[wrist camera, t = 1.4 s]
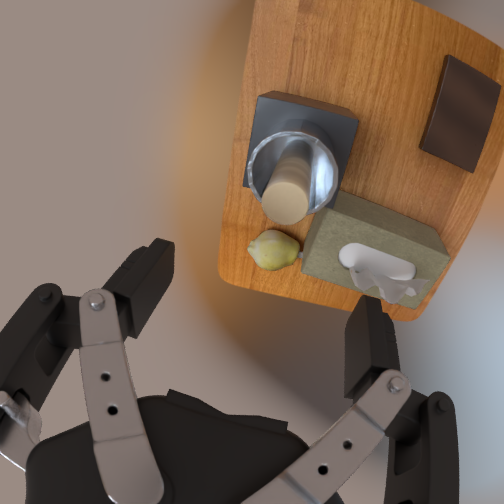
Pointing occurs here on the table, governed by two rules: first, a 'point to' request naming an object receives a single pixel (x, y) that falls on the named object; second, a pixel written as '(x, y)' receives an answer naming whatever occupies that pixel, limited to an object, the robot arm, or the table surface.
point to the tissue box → (374, 251)
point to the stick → (289, 185)
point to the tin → (272, 148)
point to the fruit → (274, 250)
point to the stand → (324, 114)
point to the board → (460, 114)
